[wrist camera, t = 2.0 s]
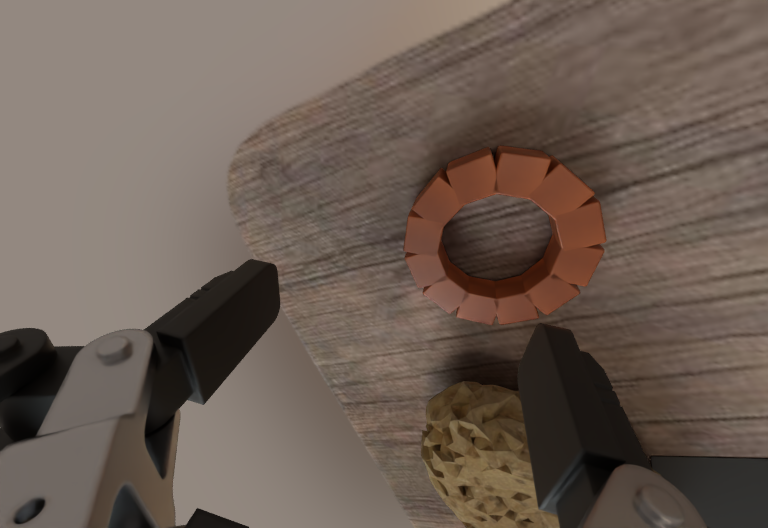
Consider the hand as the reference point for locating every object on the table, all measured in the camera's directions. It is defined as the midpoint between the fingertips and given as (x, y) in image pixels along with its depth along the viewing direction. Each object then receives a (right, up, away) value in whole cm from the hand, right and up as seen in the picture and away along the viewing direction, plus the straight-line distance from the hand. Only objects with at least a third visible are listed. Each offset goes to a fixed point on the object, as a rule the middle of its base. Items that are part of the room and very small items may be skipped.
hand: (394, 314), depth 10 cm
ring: (+5, +3, +5) cm, 8 cm away
